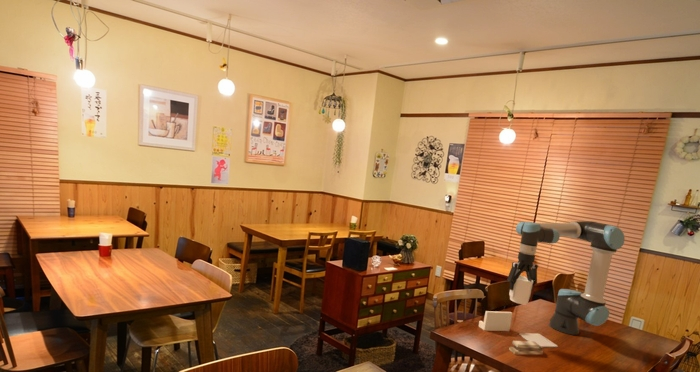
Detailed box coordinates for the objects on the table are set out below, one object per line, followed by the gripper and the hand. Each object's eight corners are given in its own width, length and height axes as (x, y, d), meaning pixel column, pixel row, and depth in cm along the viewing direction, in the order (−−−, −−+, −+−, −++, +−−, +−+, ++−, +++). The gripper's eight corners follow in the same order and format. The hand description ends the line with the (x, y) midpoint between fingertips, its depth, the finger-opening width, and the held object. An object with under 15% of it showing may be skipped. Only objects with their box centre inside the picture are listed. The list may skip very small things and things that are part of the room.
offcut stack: (535, 349, 181) (537, 340, 180) (542, 354, 176) (544, 345, 176) (508, 349, 176) (510, 340, 176) (515, 354, 172) (516, 345, 171)
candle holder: (531, 306, 180) (536, 283, 179) (510, 302, 182) (514, 279, 181) (526, 300, 189) (530, 277, 189) (506, 296, 191) (510, 273, 190)
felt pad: (538, 334, 200) (538, 333, 200) (557, 347, 187) (558, 346, 187) (518, 334, 196) (518, 333, 196) (537, 347, 183) (537, 346, 183)
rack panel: (503, 326, 203) (506, 309, 203) (509, 330, 199) (512, 313, 198) (478, 326, 199) (481, 308, 198) (484, 330, 194) (487, 312, 194)
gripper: (514, 253, 177) (506, 298, 179) (550, 256, 183) (542, 300, 185) (504, 249, 184) (496, 292, 186) (539, 252, 190) (531, 294, 192)
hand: (519, 296), depth 185 cm, fingers closed on candle holder, 9 cm apart
